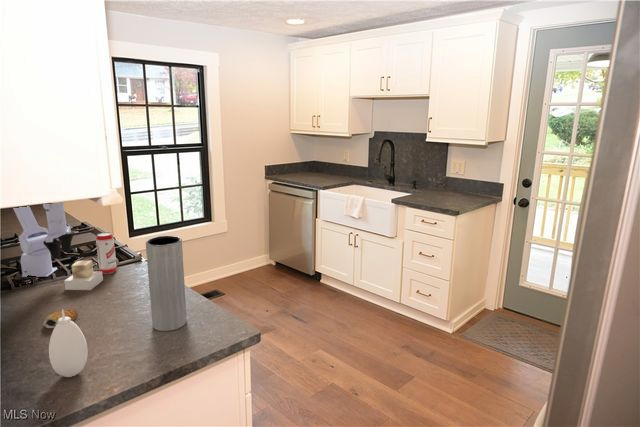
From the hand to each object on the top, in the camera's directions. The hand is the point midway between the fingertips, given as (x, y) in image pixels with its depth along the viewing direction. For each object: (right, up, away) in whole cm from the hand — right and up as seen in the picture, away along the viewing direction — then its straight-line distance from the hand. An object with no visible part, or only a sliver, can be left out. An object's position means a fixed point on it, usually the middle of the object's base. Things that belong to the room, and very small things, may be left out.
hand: (61, 255), depth 153 cm
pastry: (+17, -18, -27) cm, 37 cm away
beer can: (+11, -8, +12) cm, 18 cm away
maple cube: (+9, -8, -1) cm, 12 cm away
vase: (+50, -19, -26) cm, 60 cm away
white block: (+9, -11, 0) cm, 15 cm away
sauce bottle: (+35, -25, -51) cm, 67 cm away
